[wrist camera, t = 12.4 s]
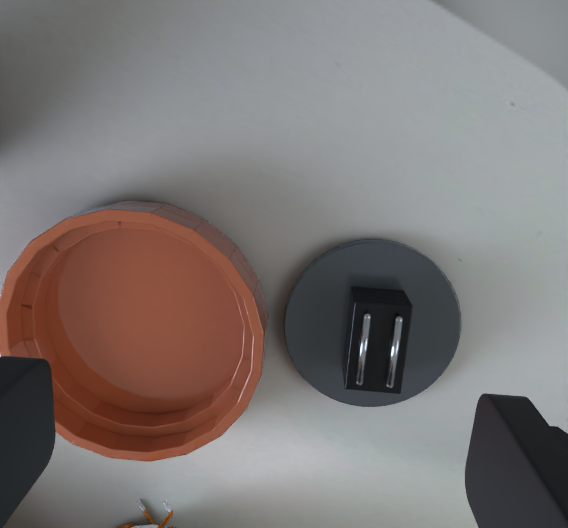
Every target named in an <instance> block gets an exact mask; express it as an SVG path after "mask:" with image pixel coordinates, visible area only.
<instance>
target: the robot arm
mask: <svg viewBox="0 0 568 528" xmlns="http://www.w3.org/2000/svg"><path fill="white" fill-rule="evenodd" d="M54 444H55V417H54V401H53V386H52V372H51V367H50V364H49V362H48V361H47V360H46V359H41V358H28V357H15V356H2V357H0V528H2V527H3V526H4V525H5V523H6V522H7V520H8V519H9V518H10V516H11V515H12V514H13V512H14V511H15V509H16V508H17V507H18V505H19V504H20V503H21V501H22V500H23V498H24V497H25V496H26V494H27V493H28V491H29V490H30V489H31V487H32V486H33V485H34V483H35V482H36V480H37V479H38V478H39V476H40V475H41V473H42V472H43V471H44V469H45V468H46V466H47V465H48V463H49V460H50V458H51V455H52V452H53V448H54ZM465 487H466V494H467V499H468V502H469V505H470V507H471V510H472V512H473V515H474V517H475V520H476V522H477V524H478V527H479V528H568V434H567V433H566V432H564V431H563V430H561V429H560V428H559V427H554V426H549V425H548V423H547V422H546V421H545V419H544V418H543V417H542V416H541V414H540V413H539V412H538V410H537V409H536V408H535V406H534V405H533V404H532V402H531V401H530V400H529V399H528V398H527V397H523V396H510V395H497V394H482V395H481V397H480V398H479V400H478V403H477V408H476V413H475V418H474V424H473V429H472V435H471V440H470V445H469V451H468V456H467V462H466V468H465Z"/></svg>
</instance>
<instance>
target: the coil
mask: <svg viewBox="0 0 568 528" xmlns="http://www.w3.org/2000/svg"><path fill="white" fill-rule="evenodd" d="M137 504H138V505H139V507H140V508H141V510H142V511H143V513H144V514H145V516H146V517H147V519H148V520H149V522H150V524H151V525H139V526H136V525H135V524H134V523H129V524H125V525H123V526H119V527H118V528H166V527H164V526H165V524H166V523H167V522H168V521H169V520H170V519H171V517H172V515H173V510H172V509H171V507H170V506H169V504H168V503H167V501H164V502H163V505H164V506H165V508H166V509H167V511H168V512H169V514H168V516H167V517H166V519H165V520H164V521H163V522H162V523H161V524H160V525H159V526H158V525H156V523H155V522H154V520H153V519H152V517H151V516H150V514H149V513H148V511H147V510H146V508H145V507H144V505H143V504H142V502H141V501H140V500H138V501H137ZM168 528H176V527H173V526H171V527H168Z"/></svg>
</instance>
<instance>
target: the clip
mask: <svg viewBox="0 0 568 528" xmlns="http://www.w3.org/2000/svg"><path fill="white" fill-rule="evenodd" d="M412 312H413V305H412V304H411V302H410V300H409V298H408V296H407V295H406V293H405V291H400V290H388V289H376V288H364V287H351V290H350V299H349V308H348V317H347V326H346V335H345V344H344V353H343V362H342V372H343V379H344V387H345V389H349V390H360V391H372V392H383V393H394V394H400V393H401V388H402V381H403V374H404V367H405V360H406V353H407V346H408V339H409V333H410V326H411V319H412Z"/></svg>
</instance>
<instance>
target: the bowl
mask: <svg viewBox="0 0 568 528" xmlns="http://www.w3.org/2000/svg"><path fill="white" fill-rule="evenodd" d="M267 330H268V312H267V308H266V304H265V300H264V297H263V293H262V289H261V285H260V281H259V279H258V277H257V275H256V274H255V272H254V271H253V269H252V268H251V266H250V265H249V263H248V262H247V260H246V259H245V257H244V255H243V254H242V252H241V251H240V249H239V248H238V247H237V246H236V244H235V243H233V242H232V241H231V240H230V239H229V238H227V237H226V236H225V235H224V234H222V233H221V232H220V231H219V230H218V229H216V228H215V227H214V226H213V225H212V224H210V223H209V222H208V221H207V220H205V219H203V218H201V217H198V216H196V215H194V214H191V213H189V212H186V211H184V210H181V209H179V208H177V207H174V206H172V205H169V204H166V203H155V202H143V201H131V200H126V201H121V202H117V203H112V204H108V205H104V206H100V207H96V208H92V209H88V210H86V211H83V212H81V213H78V214H76V215H73V216H71V217H69V218H66V219H64V220H62V221H61V222H59V223H58V224H56V225H55V226H53V227H52V228H50V229H49V230H47V231H46V232H44V233H42V234H41V235H39V236H38V237H36V238H35V239H33V240H32V241H31V242H30V243H29V244H28V245H27V247H26V248H25V250H24V251H23V252H22V254H21V255H20V256H19V258H18V259H17V260H16V262H15V263H14V265H13V266H12V267H11V269H10V270H9V271H8V273H7V275H6V278H5V282H4V286H3V289H2V293H1V296H0V355H1V357H2V356H15V357H28V358H41V359H46V360H47V361H48V362H49V364H50V367H51V372H52V386H53V401H54V417H55V432H56V433H58V434H59V435H61V436H62V437H63V438H65V439H66V440H68V441H69V442H70V443H72V444H74V445H77V446H79V447H82V448H85V449H87V450H90V451H93V452H95V453H98V454H100V455H103V456H106V457H108V458H109V457H110V458H117V459H128V460H138V461H155V460H160V459H165V458H171V457H176V456H181V455H186V454H188V453H190V452H192V451H194V450H196V449H198V448H200V447H202V446H203V445H205V444H207V443H209V442H211V441H213V440H215V439H217V438H218V437H220V436H222V435H223V433H224V432H225V431H226V430H227V429H228V428H229V427H230V426H231V425H232V424H233V423H234V422H235V421H236V420H237V419H238V418H239V416H240V415H241V414H242V413H243V412H244V411H245V410H246V408H247V407H248V404H249V402H250V400H251V398H252V395H253V393H254V391H255V388H256V386H257V384H258V382H259V379H260V377H261V374H262V370H263V364H264V359H265V354H266V344H267Z"/></svg>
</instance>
